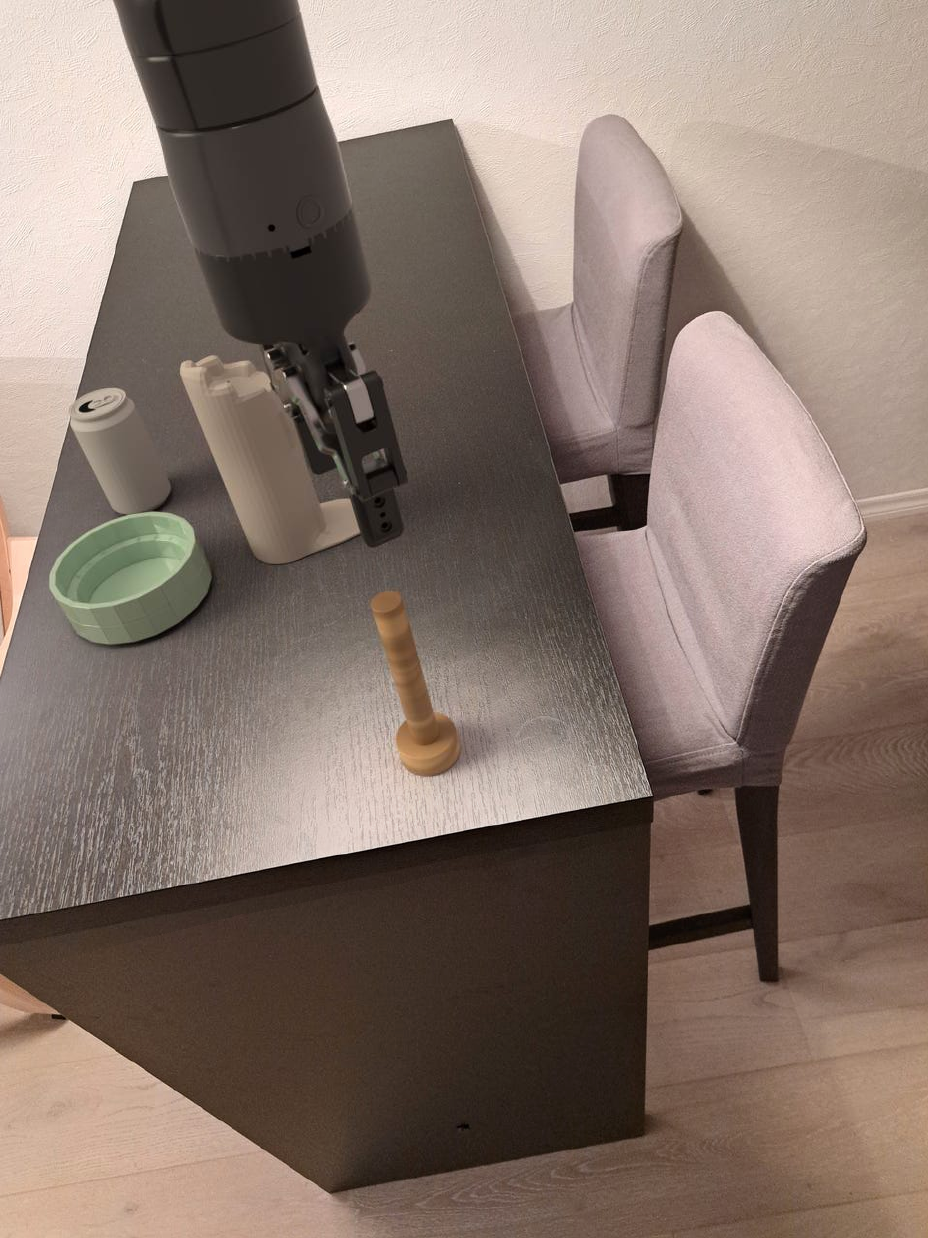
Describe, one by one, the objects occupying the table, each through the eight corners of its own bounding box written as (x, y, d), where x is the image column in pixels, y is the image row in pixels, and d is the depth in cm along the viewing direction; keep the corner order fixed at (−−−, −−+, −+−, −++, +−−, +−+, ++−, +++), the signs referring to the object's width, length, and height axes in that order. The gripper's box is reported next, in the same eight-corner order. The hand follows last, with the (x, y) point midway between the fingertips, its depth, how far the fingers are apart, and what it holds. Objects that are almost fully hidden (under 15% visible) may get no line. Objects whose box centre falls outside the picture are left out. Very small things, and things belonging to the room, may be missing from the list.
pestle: (449, 781, 67) (406, 629, 56) (392, 771, 68) (340, 621, 58) (468, 733, 69) (430, 580, 59) (413, 725, 71) (367, 574, 61)
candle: (399, 520, 90) (348, 325, 76) (261, 574, 87) (183, 382, 74) (375, 484, 95) (323, 295, 81) (244, 533, 92) (168, 347, 79)
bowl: (166, 657, 81) (144, 615, 78) (45, 640, 85) (18, 599, 82) (238, 558, 90) (220, 516, 86) (124, 547, 94) (103, 507, 91)
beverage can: (110, 497, 101) (60, 399, 93) (167, 476, 103) (123, 377, 95) (119, 527, 97) (67, 427, 89) (179, 504, 98) (133, 403, 90)
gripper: (155, 199, 47) (257, 470, 58) (235, 289, 37) (339, 596, 48) (295, 153, 48) (368, 425, 59) (407, 228, 38) (470, 537, 49)
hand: (355, 501), depth 53 cm, fingers open, 8 cm apart
